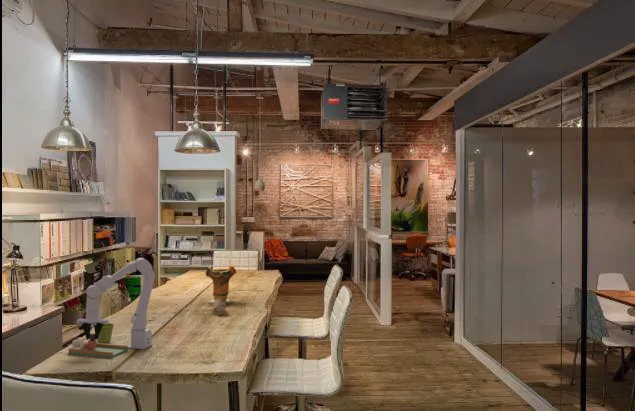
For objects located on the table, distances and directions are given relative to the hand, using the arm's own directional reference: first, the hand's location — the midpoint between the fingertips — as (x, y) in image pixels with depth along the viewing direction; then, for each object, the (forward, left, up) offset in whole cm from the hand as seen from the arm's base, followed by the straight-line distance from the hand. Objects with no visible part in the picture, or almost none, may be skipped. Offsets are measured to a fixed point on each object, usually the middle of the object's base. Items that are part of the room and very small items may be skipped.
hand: (92, 338), depth 237 cm
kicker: (+1, 0, -5) cm, 5 cm away
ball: (+4, 0, -3) cm, 6 cm away
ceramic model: (-19, -100, -7) cm, 102 cm away
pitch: (-4, 0, -6) cm, 7 cm away
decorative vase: (-3, -138, -6) cm, 138 cm away
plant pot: (+6, -17, -6) cm, 19 cm away
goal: (+5, 0, -5) cm, 7 cm away
